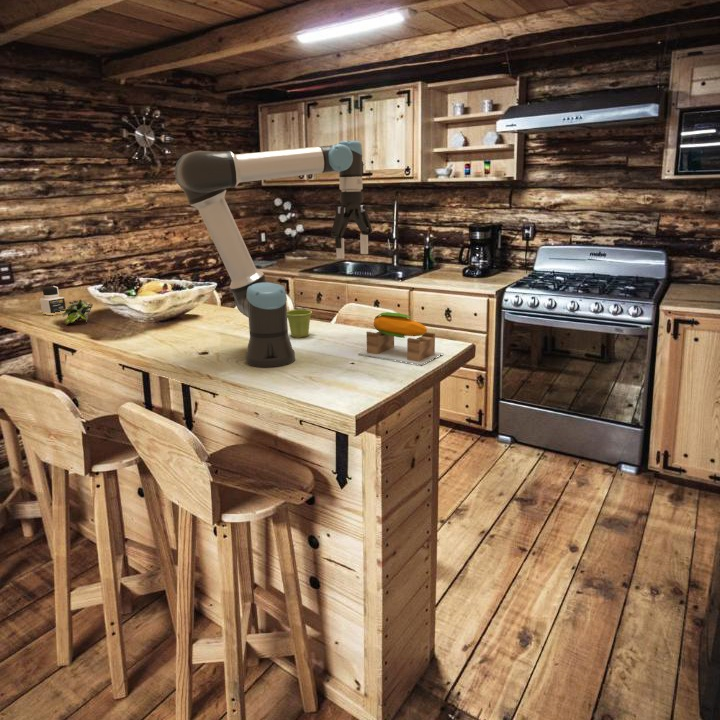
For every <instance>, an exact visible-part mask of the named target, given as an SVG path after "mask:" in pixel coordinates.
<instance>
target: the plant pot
mask: <svg viewBox="0 0 720 720" xmlns="http://www.w3.org/2000/svg"><path fill="white" fill-rule="evenodd" d="M312 314H313V311H312V310H309V309H291V310H287V322H288V327H289V332H290V335H291V337H293V338H303V337H308V336H309V330H310V321H311V317H312Z"/></svg>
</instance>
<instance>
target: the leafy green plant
mask: <svg viewBox="0 0 720 720" xmlns="http://www.w3.org/2000/svg"><path fill="white" fill-rule="evenodd" d="M68 303H69V305H68V306H67V308H66V309H64V310H65V312H64V313H62V314H61V315H62V317H63V318H64V317H66V316H67V317H66V319H65V321H64V324H65V323H66V324H67V325H68V324H70V323H71V324H72V323H74V322H76V321H75V320H76V319H79V320H82V319H83V320H85V323H86V322H87V323H88V319H89V314H90V313H91V309H92V308H93V305H94V304H93V303H92V302H86V301H84V300H82V299H78V300H75V299H74V300H72V301H69V302H68ZM86 313H87V314H86Z"/></svg>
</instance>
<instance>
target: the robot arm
mask: <svg viewBox="0 0 720 720" xmlns="http://www.w3.org/2000/svg"><path fill="white" fill-rule="evenodd" d="M363 157H364V156H363V148H362V143H361V141H359V140H340V141H339V142H338V143H337V144H336V143H335V144H331V145H321V146H312V147H301V148H289V149H288V148H287V149H281V150H280V149H278V150H270V151H259V152H258V151H257V152H249V153H240V154H239V153H237V154H235V153H233V152H232V151H231V150H230V151H229V150H228V151H209V150H206V151H205V150H196V151H195V150H194V151H192V152H188V153H187V152H186V154H183V155H182V156H181V157H179V159H178V160H177V162H176V165H175V167H174V177H175V180H176V183H177V185H178V186H179V187H180V188H181V189H182V190H183V192H184V195H185V196H186V199H187V200H188V203H189V204H190V206H191V207H193V208H195V209H197V210H198V212H199V214H200V216H201V217H200V218H202V221H203V222H204V225H205V227H206V230H207V231H208V233H209V236H210V238H211V240H212V242H213V244H214V246H215V248H216V250H217V253H218V254H219V257H220V258H221V261H222V263H223V265H224V267H225V269H226V271H227V274H228V275H229V278H230V280H231V281H230V285H229V289H230V291H231V294H232V295H233V298H234V303H235V307H236V308H237V310H238V311H239V312H240V314H242V315H243V316H245V317H247V318H248V329H249V341H248V346H247V351H246V353H245V363H246V364H247V365H249V366H252V367H256V368H257V367H258V368H273V367H274V368H275V367H281V366H286V365H289V364H291V363H293V362H294V361H295V359H296V352H295V350H294V348H293V347H292V342H291V339H290V337H289V330H288V329H289V323H288V318H287V311H288V307H287V301H288V298H287V294H286V293H287V292H286V289H285V287H284V286H283V285H281V284H279V283H274V282H269V281H268V280H267V278H266V276H265V274H264V272H263V271H262V270H258V269H257V268H256V265H255V263H254V261H253V258H252V257H251V254H250V252H249V250H248V247H247V246H246V243H245V241H244V238H243V237H242V234H241V232H240V230H239V227H238V225H237V223H236V221H235V219H234V217H233V214H232V212H231V210H230V208H229V205H228V203H227V201H226V199H225V195H226V193H227V189H228V188H236V187H238V185H239V184H241V183H246V182H247V183H248V182H254V181H264V180H273V179H281V178H289V177H298V176H307V175H316V174H326V173H327V174H328V173H339V178H338V179H339V190H340V192H339V202H340V204H342V206H336V207H335V211H336V212H335V216H334V220H333V223H332V228H331V232H330V237H332V238H333V239H335V250H336V253H335V254H336V259H345V238H344V234H345V232H346V230H347V227H348V225H349V223H350V222H351V221H354V222H355V223H356V225H357V228H358V229H359V231H360V233H361V234H360V236H359V237H360V238H359V239H360V245H359V246H360V249H359V250H360V254H361V255H368V254H369V235H371V234H372V232H373V227H372V224H371V222H370V218H369V215H368V207H367V205H365V204H362V203H363V201H364V192H363V191H362V190H363V189H364V188H363Z"/></svg>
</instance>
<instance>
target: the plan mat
mask: <svg viewBox="0 0 720 720" xmlns="http://www.w3.org/2000/svg"><path fill="white" fill-rule="evenodd" d="M358 354H359V355H358ZM441 354H443V355H444V352H438V351H435V354H433V355H431V356H429V357H427V358H425V359H423V360H421V361H413V360H407V346H401V345H395V344H394V348H391V349H389V350H386V351H384V352H382V353H379V354H372V353H367V349H365V350H362V351H359V352H358V353H357V355H358V356H361V355H365V356H364V357H367V356H371V357H370V358H373V357H377V358H376V359H378V358H383V359H382V360H384V359H389V360H388V361H390V360H396V361H402V362H407V363H413V364H418V365H422V366H424V365H425V364H424V363H426V362H428V361H430V360H432V359H434V358H436V357H437V356H439V355H441ZM436 359H437V358H436ZM434 360H435V359H434ZM432 361H433V360H432ZM430 362H431V361H430ZM407 363H406V364H407ZM428 363H429V362H428ZM423 364H424V365H423ZM426 364H427V363H426ZM418 365H417V366H418Z"/></svg>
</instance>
